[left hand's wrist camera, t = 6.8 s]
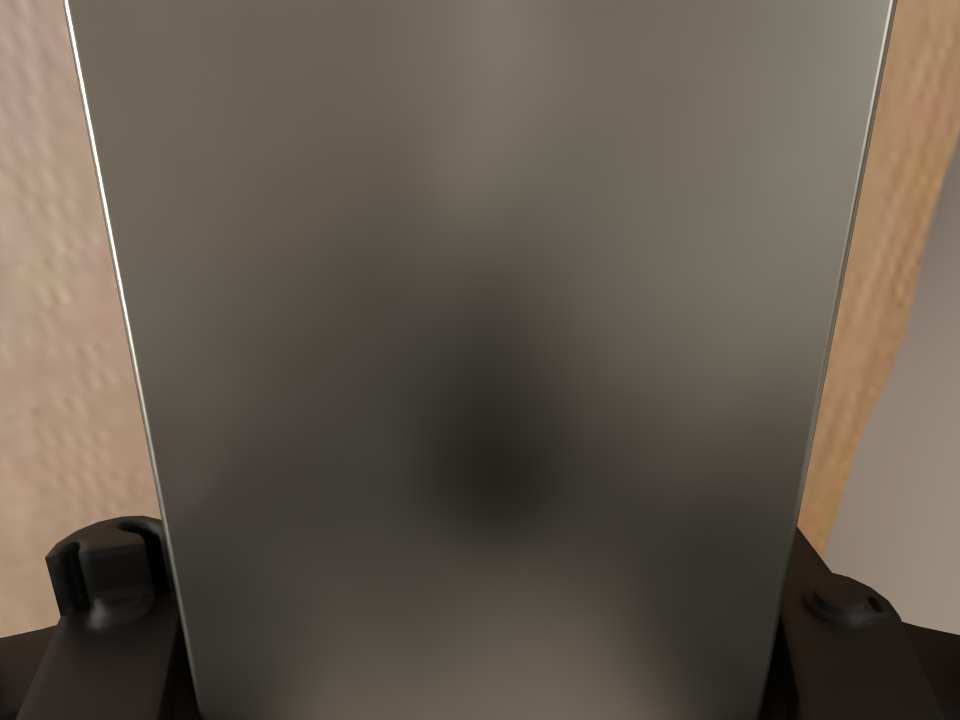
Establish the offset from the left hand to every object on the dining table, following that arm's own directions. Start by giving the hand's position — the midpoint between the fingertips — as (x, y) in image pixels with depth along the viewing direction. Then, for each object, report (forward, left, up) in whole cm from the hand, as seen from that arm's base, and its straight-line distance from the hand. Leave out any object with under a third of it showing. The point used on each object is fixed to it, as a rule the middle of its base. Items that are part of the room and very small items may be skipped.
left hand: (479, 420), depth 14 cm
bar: (+9, +2, -1) cm, 10 cm away
